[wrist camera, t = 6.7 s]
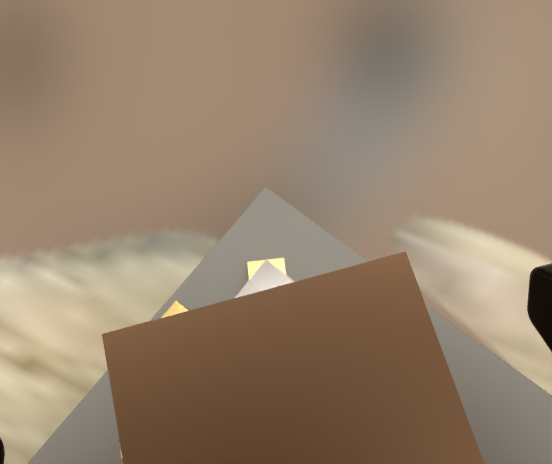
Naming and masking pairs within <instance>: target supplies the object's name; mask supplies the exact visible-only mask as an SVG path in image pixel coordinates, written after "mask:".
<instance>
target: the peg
mask: <svg viewBox="0 0 552 464" xmlns="http://www.w3.org/2000/svg"><path fill="white" fill-rule="evenodd" d="M102 337H103V343H104V349H105V355H106V361H107V367H108V373H109V379H110V385H111V391H112V397H113V404H114V410H115V416H116V422H117V428H118V434H119V440H120V446H121V452H122V458H123V464H484V461H483V458H482V456H481V453H480V450H479V448H478V445H477V442H476V440H475V437H474V434H473V432H472V429H471V426H470V423H469V421H468V418H467V415H466V413H465V410H464V407H463V405H462V402H461V399H460V397H459V394H458V391H457V389H456V386H455V383H454V381H453V378H452V375H451V372H450V370H449V367H448V364H447V362H446V359H445V356H444V354H443V351H442V348H441V346H440V343H439V340H438V338H437V335H436V332H435V329H434V327H433V324H432V321H431V319H430V316H429V313H428V311H427V308H426V305H425V303H424V300H423V297H422V295H421V292H420V289H419V287H418V284H417V281H416V278H415V276H414V273H413V270H412V268H411V265H410V262H409V260H408V257H407V254H406V252H402V253H399V254H395V255H391V256H388V257H384V258H380V259H377V260H373V261H369V262H366V263H362V264H358V265H355V266H351V267H347V268H344V269H340V270H336V271H333V272H329V273H325V274H322V275H318V276H314V277H311V278H307V279H303V280H299V281H296V282H292V283H288V284H285V285H281V286H277V287H274V288H270V289H266V290H263V291H259V292H255V293H252V294H248V295H244V296H241V297H237V298H233V299H230V300H226V301H222V302H219V303H215V304H211V305H208V306H204V307H200V308H197V309H193V310H189V311H186V312H182V313H178V314H175V315H171V316H167V317H164V318H160V319H156V320H153V321H149V322H145V323H142V324H138V325H134V326H131V327H127V328H123V329H119V330H116V331H112V332H108V333H105V334H102Z"/></svg>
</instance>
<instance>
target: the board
mask: <svg viewBox="0 0 552 464" xmlns="http://www.w3.org/2000/svg"><path fill="white" fill-rule="evenodd" d="M277 258H284V263H285V271H286V275H287V276H288V277H290V278H291V279H292V280H294V281H295V282H296V281H299V280H303V279H307V278H311V277H314V276H318V275H322V274H325V273H329V272H333V271H336V270H340V269H344V268H347V267H351V266H355V265H358V264H362V263H366V262H368V261H366V260H365V259H363V258H362V257H361V256H359V255H358V254H356V253H355V252H354V251H353V250H351V249H350V248H348V247H347V246H346V245H344V244H343V243H341V242H340V241H339V240H338V239H336V238H335V237H333V236H332V235H331V234H329V233H328V232H327V231H325V230H324V229H322V228H321V227H320V226H318V225H317V224H316V223H314V222H313V221H312V220H310V219H309V218H307V217H306V216H305V215H303V214H302V213H301V212H299V211H298V210H296V209H295V208H294V207H292V206H291V205H290V204H288V203H287V202H285V201H284V200H283V199H281V198H280V197H279V196H277V195H276V194H275V193H273V192H272V191H270V190H269V189H268V188H266V187H265V188H264V190H263V191H262V192H261V193H260V194H259V195H258V196H257V198H256V199H255V200H254V201H253V202H252V203H251V205H250V206H249V207H248V208H247V209H246V210H245V212H244V213H243V214H242V215H241V216H240V217H239V219H238V220H237V221H236V222H235V223H234V224H233V226H232V227H231V228H230V229H229V230H228V231H227V232H226V234H225V235H224V236H223V237H222V238H221V239H220V241H219V242H218V243H217V244H216V245H215V246H214V248H213V249H212V250H211V251H210V252H209V253H208V255H207V256H206V257H205V258H204V259H203V260H202V262H201V263H200V264H199V265H198V266H197V267H196V268H195V270H194V271H193V272H192V273H191V274H190V275H189V277H188V278H187V279H186V280H185V281H184V282H183V284H182V285H181V286H180V287H179V288H178V289H177V291H176V292H175V293H174V294H173V295H172V296H171V298H170V299H169V300H168V301H167V302H166V303H165V304H164V306H163V307H162V308H161V309H160V310H159V311H158V313H157V314H156V315H155V316H154V317H153V318H152V320H151V321H153V320H156V319H160V318H161V317H162V316H163V315H164V314H165V312H166V311H167V310H168V309H169V308H170V307H171V305H172V304H173V303H174V302H175V301H177V302H179V303H180V304H181V305H182V306H183V307H185V308H186V309H187V310H188V311H189V310H193V309H197V308H200V307H204V306H208V305H211V304H215V303H219V302H222V301H226V300H230V299H233V298H235V297H236V295H237V294H238V293H239V292H240V290H241V289H242V288H243V287H244V286H245V284H246V283H247V282H248V281H249V275H248V265H247V262H251V261H260V260H268V259H277ZM425 305H426V308H427V311H428V313H429V316H430V319H431V321H432V324H433V327H434V329H435V332H436V335H437V338H438V340H439V343H440V346H441V348H442V351H443V354H444V356H445V359H446V362H447V364H448V367H449V370H450V372H451V375H452V378H453V381H454V383H455V386H456V389H457V391H458V394H459V397H460V399H461V402H462V405H463V407H464V410H465V413H466V415H467V418H468V421H469V423H470V426H471V429H472V432H473V434H474V437H475V440H476V442H477V445H478V448H479V450H480V453H481V456H482V458H483V461H484V464H552V396H551V395H550V394H548V393H547V392H546V391H544V390H543V389H542V388H540V387H539V386H538V385H536V384H535V383H533V382H532V381H531V380H529V379H528V378H527V377H525V376H524V375H522V374H521V373H520V372H518V371H517V370H516V369H514V368H513V367H512V366H510V365H509V364H507V363H506V362H505V361H503V360H502V359H501V358H499V357H498V356H496V355H495V354H494V353H492V352H491V351H490V350H488V349H487V348H485V347H484V346H483V345H481V344H480V343H479V342H477V341H476V340H475V339H473V338H472V337H470V336H469V335H468V334H466V333H465V332H464V331H462V330H461V329H459V328H458V327H457V326H455V325H454V324H453V323H451V322H450V321H448V320H447V319H446V318H444V317H443V316H442V315H440V314H439V313H438V312H436V311H435V310H433V309H432V308H431V307H429V306H428V305H427V304H425ZM118 439H119V434H118V428H117V422H116V416H115V410H114V404H113V397H112V391H111V385H110V379H109V373H108V371H107V372H106V373H105V374H104V375H103V376H102V378H101V379H100V380H99V381H98V382H97V383H96V385H95V386H94V387H93V388H92V389H91V390H90V392H89V393H88V394H87V395H86V396H85V397H84V399H83V400H82V401H81V402H80V403H79V404H78V406H77V407H76V408H75V409H74V410H73V411H72V412H71V414H70V415H69V416H68V417H67V418H66V419H65V421H64V422H63V423H62V424H61V425H60V426H59V428H58V429H57V430H56V431H55V432H54V433H53V435H52V436H51V437H50V438H49V439H48V440H47V442H46V443H45V444H44V445H43V446H42V447H41V449H40V450H39V451H38V452H37V453H36V454H35V455H34V457H33V458H32V459H31V460H30V461H29V462H28V464H123V459H121V446H120V443H118V442H117V440H118Z"/></svg>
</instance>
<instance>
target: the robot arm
mask: <svg viewBox="0 0 552 464" xmlns="http://www.w3.org/2000/svg"><path fill="white" fill-rule="evenodd" d="M527 310H528V315H529V318H530V320H531V322H532V324H533V325H534V327H535V328H536V330H537V331H538V332H539V334H540V335H541V337H542V338H543V340H544V341H545V343H546V344H547V346H548V347H549V349H550V350H551V352H552V263H551V264H547V265H543V266H539V267H536V268H534V269H533V270H532V272H531V274H530V280H529V293H528V305H527ZM4 456H5V452H4V445H3V442H2V440H1V438H0V464H4Z"/></svg>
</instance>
